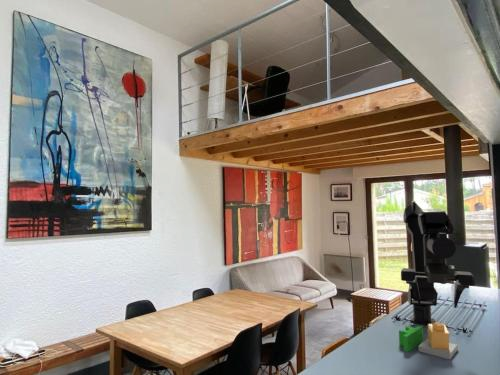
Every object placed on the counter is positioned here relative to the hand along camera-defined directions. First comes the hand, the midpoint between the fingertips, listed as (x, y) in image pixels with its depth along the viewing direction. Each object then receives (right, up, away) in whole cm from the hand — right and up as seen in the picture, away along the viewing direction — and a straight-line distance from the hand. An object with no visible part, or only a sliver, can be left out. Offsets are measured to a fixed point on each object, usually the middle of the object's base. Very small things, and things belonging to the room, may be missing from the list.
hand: (437, 305), depth 101 cm
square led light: (-1, -10, -3) cm, 10 cm away
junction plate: (-1, -12, -3) cm, 12 cm away
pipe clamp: (-7, -13, +2) cm, 15 cm away
